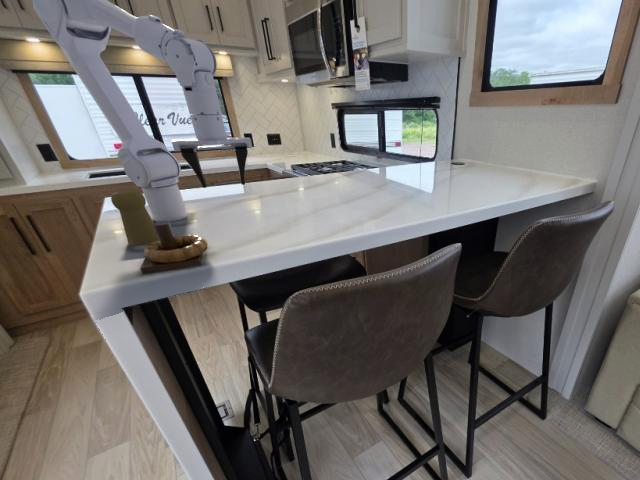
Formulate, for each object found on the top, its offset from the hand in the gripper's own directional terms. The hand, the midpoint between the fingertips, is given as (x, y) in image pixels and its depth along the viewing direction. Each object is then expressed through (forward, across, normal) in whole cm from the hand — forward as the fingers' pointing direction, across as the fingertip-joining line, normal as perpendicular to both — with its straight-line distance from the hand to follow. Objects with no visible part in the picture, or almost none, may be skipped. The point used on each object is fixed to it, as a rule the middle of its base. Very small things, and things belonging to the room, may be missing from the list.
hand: (224, 185), depth 73 cm
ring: (+8, -10, -15) cm, 20 cm away
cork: (+10, -17, -4) cm, 20 cm away
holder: (+10, -11, -15) cm, 21 cm away
